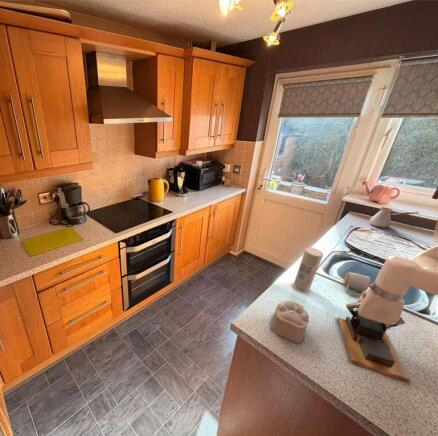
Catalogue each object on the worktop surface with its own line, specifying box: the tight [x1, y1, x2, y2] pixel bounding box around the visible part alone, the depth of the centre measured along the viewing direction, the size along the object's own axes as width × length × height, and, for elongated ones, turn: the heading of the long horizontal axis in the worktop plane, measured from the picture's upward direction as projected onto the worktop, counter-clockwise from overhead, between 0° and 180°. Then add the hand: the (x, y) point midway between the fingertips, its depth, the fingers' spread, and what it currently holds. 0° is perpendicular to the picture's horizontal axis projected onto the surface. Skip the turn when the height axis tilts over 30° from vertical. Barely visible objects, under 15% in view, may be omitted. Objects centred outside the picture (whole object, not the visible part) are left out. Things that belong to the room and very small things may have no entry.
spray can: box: [293, 247, 324, 293], centre depth 104 cm, size 6×6×20 cm
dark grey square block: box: [355, 314, 384, 341], centre depth 83 cm, size 6×6×4 cm
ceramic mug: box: [342, 271, 371, 298], centre depth 105 cm, size 11×8×8 cm
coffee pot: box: [369, 206, 420, 229], centre depth 161 cm, size 21×12×15 cm, turn 43°
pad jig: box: [337, 316, 411, 382], centre depth 80 cm, size 14×19×4 cm
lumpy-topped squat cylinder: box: [271, 300, 310, 343], centre depth 87 cm, size 10×13×9 cm
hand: (365, 328), depth 84 cm, fingers closed on dark grey square block, 6 cm apart
